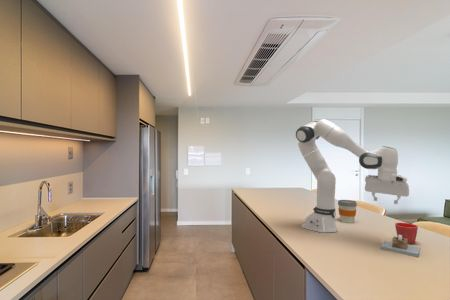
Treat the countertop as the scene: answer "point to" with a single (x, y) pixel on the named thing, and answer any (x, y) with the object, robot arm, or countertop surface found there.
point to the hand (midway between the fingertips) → (385, 202)
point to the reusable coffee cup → (347, 210)
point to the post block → (409, 251)
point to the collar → (400, 243)
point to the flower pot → (407, 231)
